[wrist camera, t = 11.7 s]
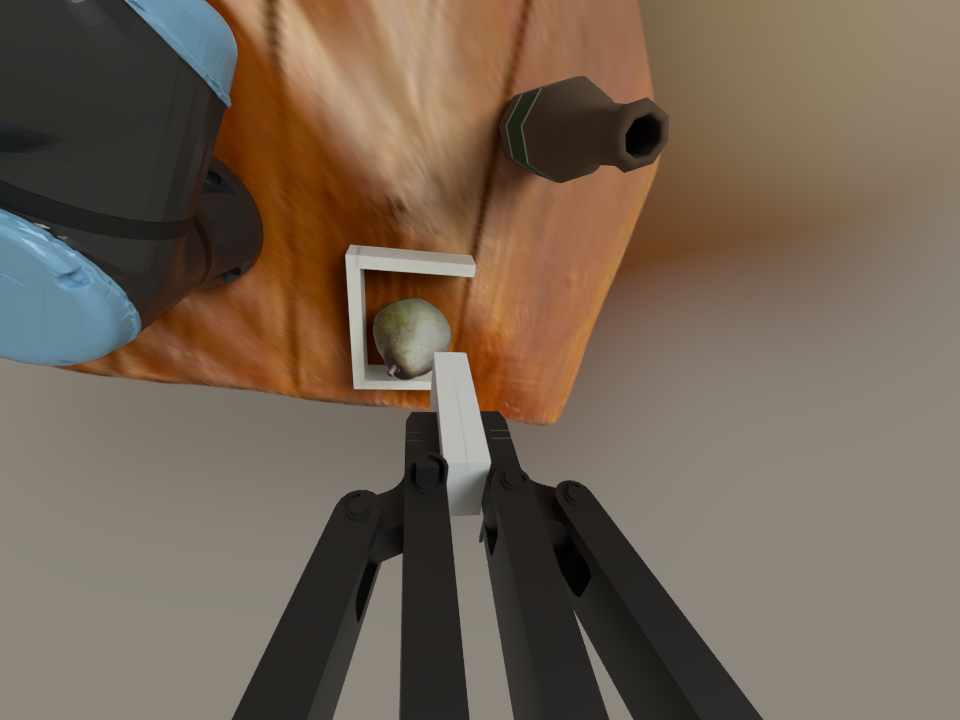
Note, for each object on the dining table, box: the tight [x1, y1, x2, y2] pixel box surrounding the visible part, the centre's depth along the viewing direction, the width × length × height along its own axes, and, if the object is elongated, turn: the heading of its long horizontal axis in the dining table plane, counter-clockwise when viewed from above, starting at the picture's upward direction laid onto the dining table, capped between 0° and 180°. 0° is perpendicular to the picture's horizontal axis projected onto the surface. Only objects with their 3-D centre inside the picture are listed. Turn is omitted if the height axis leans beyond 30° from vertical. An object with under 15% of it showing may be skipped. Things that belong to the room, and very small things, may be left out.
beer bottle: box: [499, 76, 669, 183], centre depth 31 cm, size 8×8×24 cm
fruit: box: [373, 298, 451, 380], centre depth 46 cm, size 10×9×12 cm
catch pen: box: [345, 245, 476, 390], centre depth 49 cm, size 15×19×4 cm
